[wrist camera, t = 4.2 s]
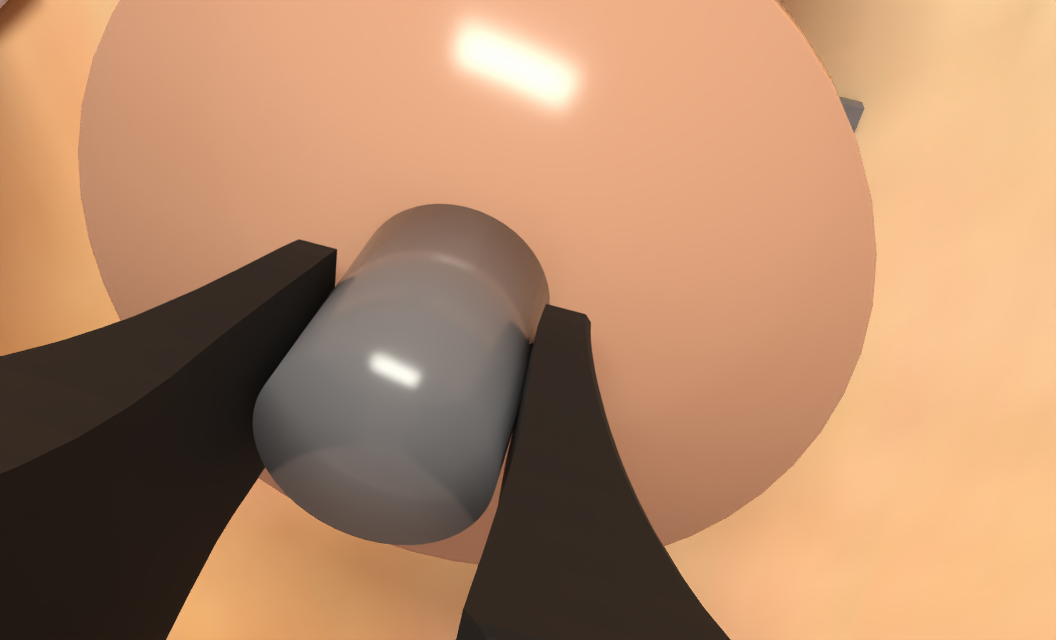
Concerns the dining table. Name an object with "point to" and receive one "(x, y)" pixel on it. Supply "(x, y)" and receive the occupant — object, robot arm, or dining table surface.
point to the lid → (496, 233)
